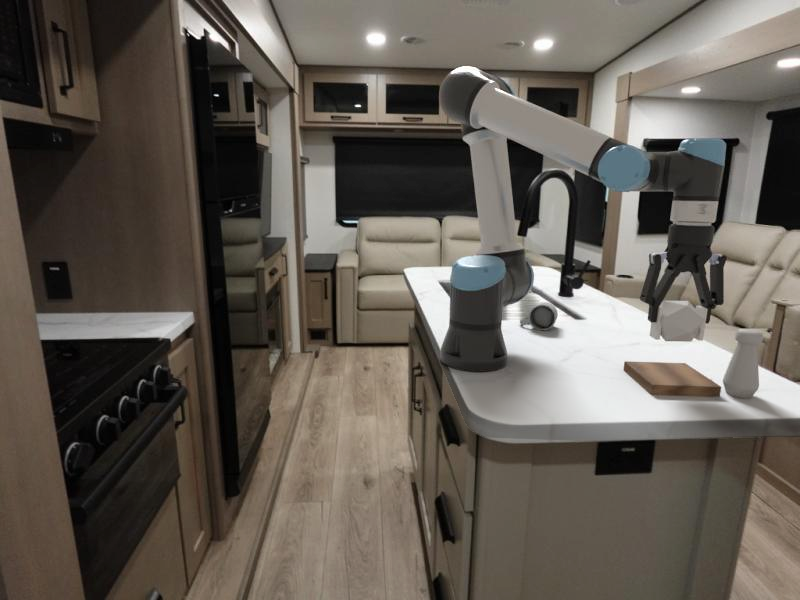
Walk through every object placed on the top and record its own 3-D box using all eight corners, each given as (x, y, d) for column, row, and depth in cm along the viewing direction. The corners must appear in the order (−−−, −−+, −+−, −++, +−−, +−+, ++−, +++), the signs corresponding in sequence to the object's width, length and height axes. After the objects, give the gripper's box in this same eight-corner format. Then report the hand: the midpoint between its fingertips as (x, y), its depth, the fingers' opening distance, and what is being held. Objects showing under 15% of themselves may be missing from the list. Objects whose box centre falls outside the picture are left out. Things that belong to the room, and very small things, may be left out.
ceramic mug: (557, 325, 141) (559, 300, 140) (554, 332, 134) (556, 306, 132) (521, 321, 145) (523, 297, 143) (517, 328, 138) (518, 303, 136)
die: (696, 352, 92) (720, 309, 93) (655, 327, 93) (679, 286, 94) (674, 353, 100) (696, 314, 101) (636, 331, 101) (659, 292, 102)
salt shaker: (754, 403, 90) (767, 336, 88) (718, 394, 94) (730, 330, 91) (758, 393, 95) (770, 329, 92) (723, 385, 98) (734, 324, 95)
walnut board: (650, 394, 94) (652, 384, 93) (623, 370, 106) (624, 361, 106) (719, 396, 93) (721, 386, 93) (683, 371, 106) (685, 363, 105)
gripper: (646, 224, 89) (631, 342, 94) (760, 225, 88) (740, 345, 93) (629, 221, 97) (616, 331, 102) (734, 223, 96) (716, 333, 101)
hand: (675, 337), depth 97 cm, fingers closed on die, 8 cm apart
